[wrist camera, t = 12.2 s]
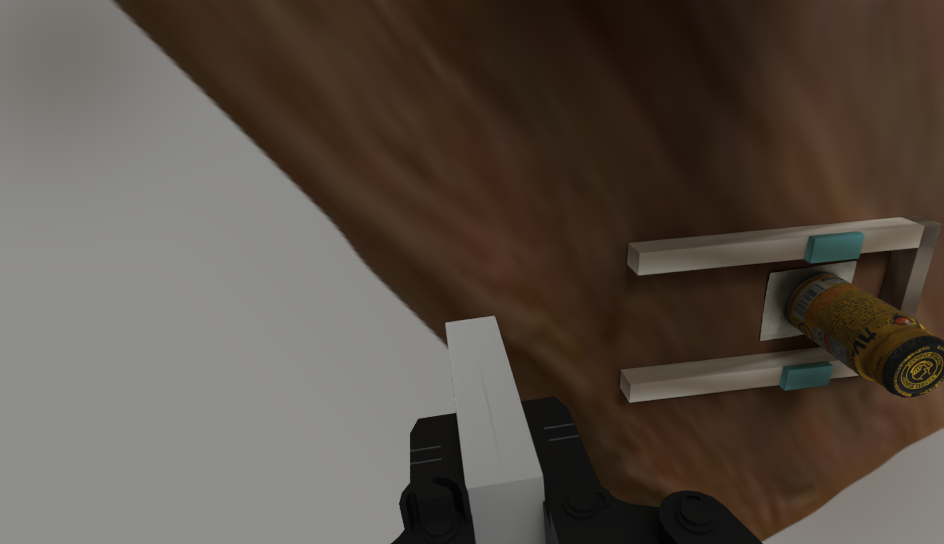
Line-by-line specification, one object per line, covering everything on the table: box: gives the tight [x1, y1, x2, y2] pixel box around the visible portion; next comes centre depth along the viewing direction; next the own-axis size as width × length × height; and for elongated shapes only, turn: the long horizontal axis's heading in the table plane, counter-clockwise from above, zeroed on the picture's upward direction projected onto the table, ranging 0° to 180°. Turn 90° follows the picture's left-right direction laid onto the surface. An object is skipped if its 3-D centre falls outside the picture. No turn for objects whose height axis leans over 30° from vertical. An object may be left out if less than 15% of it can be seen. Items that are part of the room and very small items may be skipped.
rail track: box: [620, 216, 942, 403], centre depth 50 cm, size 15×27×3 cm, turn 93°
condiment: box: [760, 261, 944, 397], centre depth 47 cm, size 7×8×12 cm
